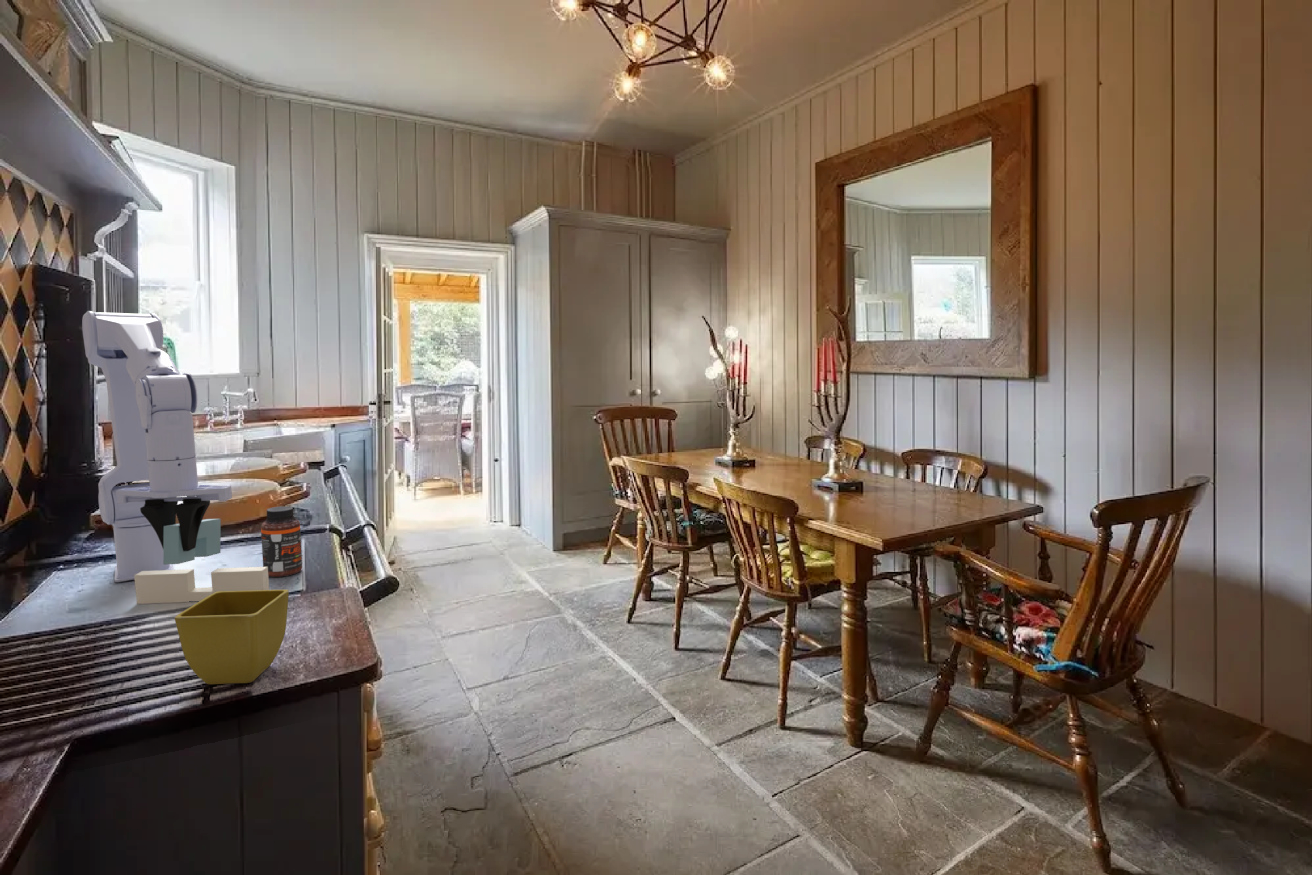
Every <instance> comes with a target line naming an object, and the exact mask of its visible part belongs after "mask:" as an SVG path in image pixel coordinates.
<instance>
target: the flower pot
mask: <svg viewBox="0 0 1312 875" xmlns="http://www.w3.org/2000/svg"><path fill="white" fill-rule="evenodd" d="M289 593H290V591H289V589H269V590H250V591H217V592H215V593H213V594H211V595H209V596H207V597H206V598H204V599H202V600H201V601H199V602H195V603H194V604H193V605H191V606H189V607H188V608H186V609H184V611H182V612H179V613H178V614H177V615H176V616H174V622H175V626H176V630H177V633H178V637H179V638H178V639H179V643H180V645H181V646H180V647H181V650H182V653H183V656H184V658H185V661H186V662H187V665H188V666H189V668H190V669H191V670H192V672H193V673H194V674H195V675H196V676H197V677H198V678H199V679H200V680H201V681H203V682H204V683H205V684H207V685H224V684H226V685H227V684H248V683H252V682H254V681H255V680H256V679H257V678H258V677H259V676H260V675H262V673H263V672H265V671H266V670H267V669H268V668H269V667H270V666H271V665H273V662H274V660H275V659H276V656H277V654H278V653H279V651H280V648H281V646H282V644H283V641H284V637H285V634H286V628H287V619H288V608H289V607H288V606H289Z"/></svg>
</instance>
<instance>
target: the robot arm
mask: <svg viewBox="0 0 1312 875" xmlns="http://www.w3.org/2000/svg"><path fill="white" fill-rule="evenodd" d="M81 326H82V327H81V328H82V329H81V330H82V338H83V345H84V350H85V357H86V358H87V362H88V364H89V365H93V366H96V367H97V368H101V371H102V373H103V375H104V378H105V381H106V388H107V397H108V403H109V411H110V420H111V428H112V434H113V435H112V437H113V443H114V449H115V452H114V453H115V459H116V466H114V468H112V469H111V470H110V471H108V472H106V474H104V475H103V476H102V477H101V478H100V479H99V482H98V496H97V497H98V498H97V499H98V507H99V513H100V517H101V520H102V521H103V522H104V523H105V524H107V525H108V526H109V525H110V526H112V528H113V529H112V530H113V539H114V548H115V549H114V550H115V558H116V560H115V561H116V565H115V566H114V583H121V582H122V583H123V582H127V581H135V579H134V575H136V574H137V573H139V572H141V571H157V570H175V569H174V566H173V565H174V564H164V565H163V545H164V526H167V525H173V524H177V521H178V524H179V525H180V529H181V541H182V548H183V551H190V550H192V549H194V548H195V547H196V540H197V535H198V531H199V527H200V524H201V521H202V520H204V516H205V514H206V512H207V510H208V508H209V507H210V504H211V501H218V502H227V501H229V500H231V499H233V495H232V492H233V491H232V485H217V484H216V485H215V484H211V485H210V484H199V480H198V467H197V458H196V457H197V455H196V445H195V444H196V442H195V430H194V419H193V414H195V413H196V411H197V408H198V392H197V391H198V390H197V386H196V381H195V379H194V378H193V375H192V374H191V373H189V372H188V373H187V372H180V371H179V369H178V368H177V366H176V364H175V363H174V361H173V359H172V358H171V356H170V355H169V353H167V352H165V351H164V350H162V347H163V343H164V328H163V323H162V319H161V318H160V317H159V316H158V314H156V313H154V312H153V313H152V312H150V313H127V312H125V313H124V312H100V311H99V312H98V311H97V312H96V311H92V310H86V312H85V313H84V314H83V315H82V323H81ZM140 481H148V482H142V483H134V484H125V485H118V484H122V483H128V482H131V483H132V482H140ZM179 502H181V503H179ZM178 503H179V504H178ZM176 519H177V520H176Z"/></svg>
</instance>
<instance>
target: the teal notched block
mask: <svg viewBox="0 0 1312 875" xmlns="http://www.w3.org/2000/svg"><path fill="white" fill-rule="evenodd" d="M221 534H222V533H221V518H206V519H202V521H201V524H200V527H199V531H198V535H197V540H196V547H195V548H194V549H192V550H190V551H183V548H182V541H181V529H180V525H179V523H176V524H173V525H167V526H164V545H163V565H164V564H172V565H180V564H184V563H188V562H191V561H195V558H205V557H210V556H211V557H212V556H214V555H218V554H221V542H222V541H221Z"/></svg>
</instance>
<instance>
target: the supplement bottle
mask: <svg viewBox="0 0 1312 875" xmlns="http://www.w3.org/2000/svg"><path fill="white" fill-rule="evenodd" d="M301 531H302V530H301V522H300V521H299V519H298V518H296V517H295V516H294V507H292V506H287V505H285V506H274V507H269V508H267V509H266V519H265V521H263V522H262V524H261V526H260V532H261V533H260V536H261V552H262V567H268V577H270V578H271V577H272V578H280V577H289V576H292V575H296V574H297V573H300V571H302V569H303V554H302V553H303V551H302V536H301V535H302V533H301Z"/></svg>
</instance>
